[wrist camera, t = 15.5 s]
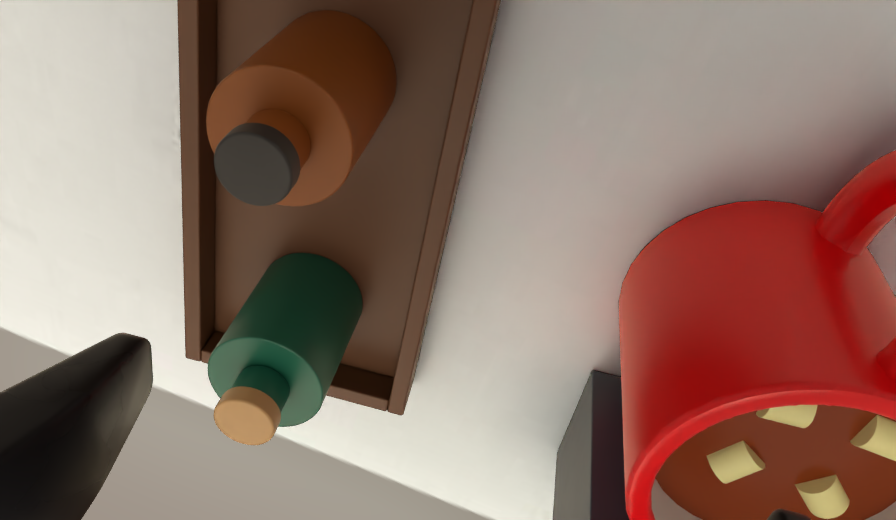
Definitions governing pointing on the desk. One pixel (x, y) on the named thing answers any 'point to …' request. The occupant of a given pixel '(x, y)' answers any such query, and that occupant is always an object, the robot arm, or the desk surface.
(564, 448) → the stand
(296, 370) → the green bottle
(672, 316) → the mug
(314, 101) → the amber bottle middle
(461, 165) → the tray
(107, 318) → the desk surface
